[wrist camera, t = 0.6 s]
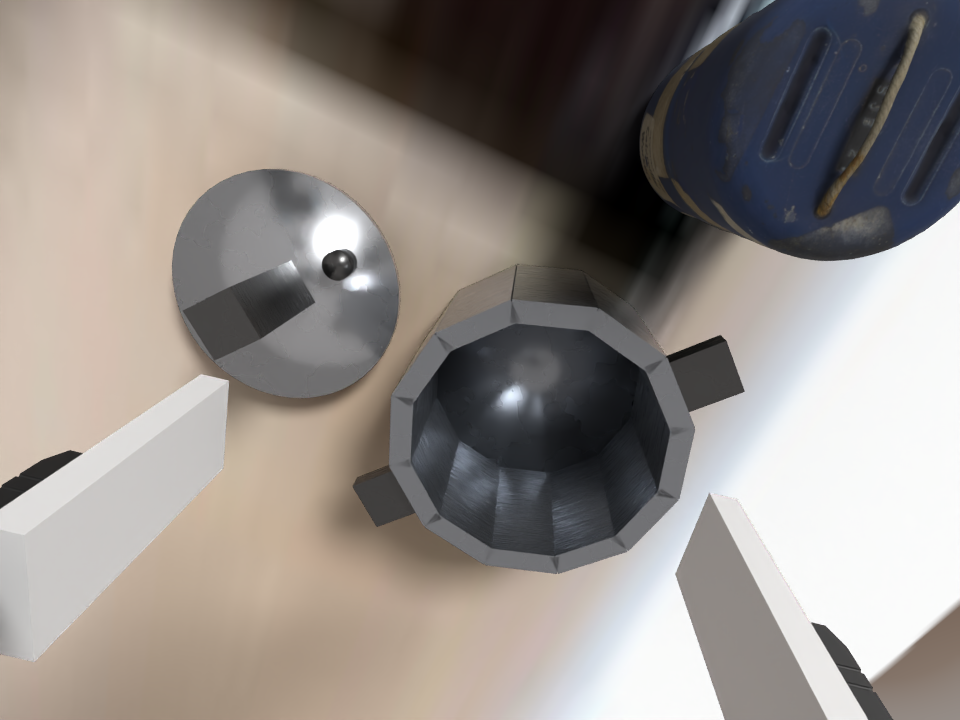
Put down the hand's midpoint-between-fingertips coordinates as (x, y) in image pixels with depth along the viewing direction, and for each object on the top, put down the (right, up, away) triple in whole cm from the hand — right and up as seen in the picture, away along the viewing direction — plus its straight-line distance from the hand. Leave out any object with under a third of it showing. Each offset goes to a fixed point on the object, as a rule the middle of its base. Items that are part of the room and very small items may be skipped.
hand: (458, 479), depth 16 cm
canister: (+15, +17, +19) cm, 29 cm away
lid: (-12, +8, +24) cm, 28 cm away
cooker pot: (+5, +2, +25) cm, 25 cm away
